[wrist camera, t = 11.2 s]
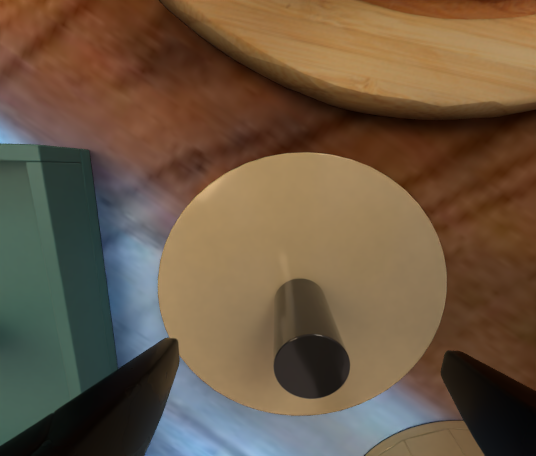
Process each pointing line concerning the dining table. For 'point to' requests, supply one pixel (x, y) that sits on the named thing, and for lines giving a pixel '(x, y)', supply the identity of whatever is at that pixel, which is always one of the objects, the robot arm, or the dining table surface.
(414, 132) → the dining table surface
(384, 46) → the wooden plate
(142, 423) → the robot arm
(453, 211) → the dining table surface
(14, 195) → the tray
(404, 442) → the pot
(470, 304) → the dining table surface
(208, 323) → the pot lid
